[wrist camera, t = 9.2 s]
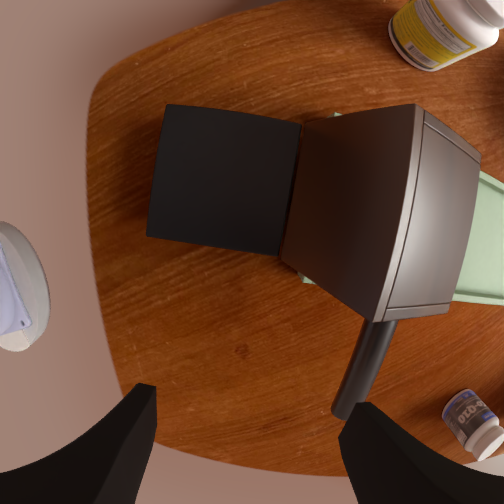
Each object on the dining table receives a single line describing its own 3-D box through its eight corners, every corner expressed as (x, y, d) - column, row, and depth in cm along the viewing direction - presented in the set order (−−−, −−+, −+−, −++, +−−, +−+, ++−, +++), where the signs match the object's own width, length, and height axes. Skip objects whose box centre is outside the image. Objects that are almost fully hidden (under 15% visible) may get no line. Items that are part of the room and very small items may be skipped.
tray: (297, 274, 19) (302, 282, 17) (326, 117, 16) (334, 111, 15) (544, 305, 22) (552, 309, 20) (563, 228, 20) (571, 230, 18)
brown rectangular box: (311, 460, 10) (389, 431, 12) (415, 102, 7) (481, 153, 9) (255, 372, 16) (324, 365, 18) (304, 122, 13) (377, 148, 15)
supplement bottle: (426, 17, 14) (496, -29, 5) (450, 73, 16) (536, 43, 6) (374, 12, 15) (441, -54, 5) (401, 73, 16) (492, 25, 6)
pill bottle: (472, 380, 23) (514, 422, 15) (470, 404, 24) (505, 444, 16) (440, 403, 23) (479, 451, 15) (439, 425, 24) (472, 470, 16)
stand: (161, 226, 18) (145, 236, 14) (179, 117, 16) (166, 103, 13) (270, 243, 18) (278, 257, 15) (289, 134, 17) (302, 123, 13)
